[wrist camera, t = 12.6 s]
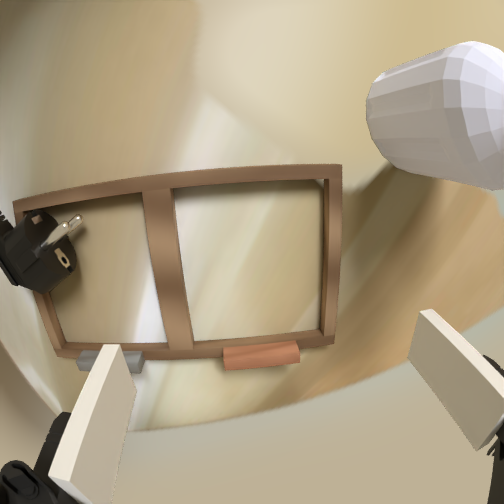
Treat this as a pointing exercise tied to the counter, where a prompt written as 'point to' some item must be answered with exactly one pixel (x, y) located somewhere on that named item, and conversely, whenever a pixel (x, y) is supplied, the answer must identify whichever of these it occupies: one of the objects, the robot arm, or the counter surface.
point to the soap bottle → (443, 115)
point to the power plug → (37, 250)
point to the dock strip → (171, 273)
